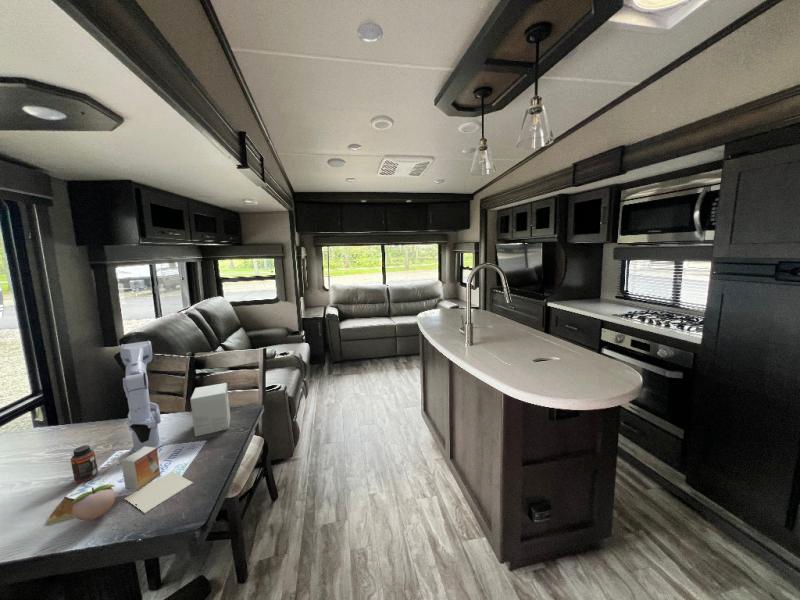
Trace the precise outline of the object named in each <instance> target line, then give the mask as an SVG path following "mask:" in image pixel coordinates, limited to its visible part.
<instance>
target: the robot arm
mask: <svg viewBox="0 0 800 600" xmlns="http://www.w3.org/2000/svg"><path fill="white" fill-rule="evenodd" d="M119 352H120V354H119V355H120V358H121V360H122V363H123V364H124V366H125V376H124V377H123V378H122V387H123V390H124V392H125V398H127V404H128V413H127V422H126V425H128V428H129V429H128V430H129V431H131V437H132V445H133V447H131V448H130V450H132V451H134V453H135V452H136V451H138V450H140V449H141V448H143V447H144V446H145V447H153V448H157V449H159V448H161V447H164V446H165V445H166V443H165V442H163V441H161V440H160V436H159V435H160V433H159V427H158V425H159V424H161V422H162V421H161V412H160V406H159V405H158V404H157V403H155V402H151V400H150V393H149V379H148V378H149V377H148V374H147V373H148V372H147V367H148V364H149V363H151V362H152V361H153V348H152V341H150V340H147V341H139V342H132V343H131V342H130V343H126V344H124V343H122V344H121V345H120V346H119Z"/></svg>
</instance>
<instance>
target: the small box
mask: <svg viewBox="0 0 800 600" xmlns="http://www.w3.org/2000/svg"><path fill="white" fill-rule="evenodd" d="M120 462H121V467H122V473H123V481H124V488H125V489H128V488H130V490H134V489H136V490H135V491H138V490H140V488H141V487H142V488H143V487H145V486H147V485H148V484H150V483H151V481H152V482H153V480H155V479H156V478H158V477H159V476H160V475H161V471H160V462H159V455H158V448H153V447H145V446H144V447H143V448H141V449H140V450H138V451H136V452H135V451H134V452H133V453H131V454H130V455H128V456H126V457H124V458H123V459H121V461H120ZM158 475H159V476H158ZM157 476H158V477H157ZM144 485H145V486H144ZM142 488H141V489H142Z"/></svg>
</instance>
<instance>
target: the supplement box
mask: <svg viewBox="0 0 800 600" xmlns="http://www.w3.org/2000/svg"><path fill="white" fill-rule="evenodd" d="M190 406H191V415H192V421H193V431H194V437H198V436H203V435H209V434H213V433H216V432H220V431H225V430H229V429H230V423H231V410H230V409H231V408H230V401H229V392H228V383H227V382H223V383H218V384H211V385H206V386H199V387H195V388H194V391H193V393H192V395H191V397H190Z"/></svg>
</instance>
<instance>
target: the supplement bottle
mask: <svg viewBox="0 0 800 600" xmlns="http://www.w3.org/2000/svg"><path fill="white" fill-rule="evenodd" d="M72 453H73V455H72V456H71V458H70V463H71V470H72V474H73V475H72V476H73V480H74V482H75V483H85V482H87V481H90V480H92V479H93V478H95V477H96V476H97V475H98V473H99V469H98V463H97V459H96V454H95V450H93V449H91V447H90V445H87V444H85V445H81V446H78V447H76V448H75V449H73V451H72Z"/></svg>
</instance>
